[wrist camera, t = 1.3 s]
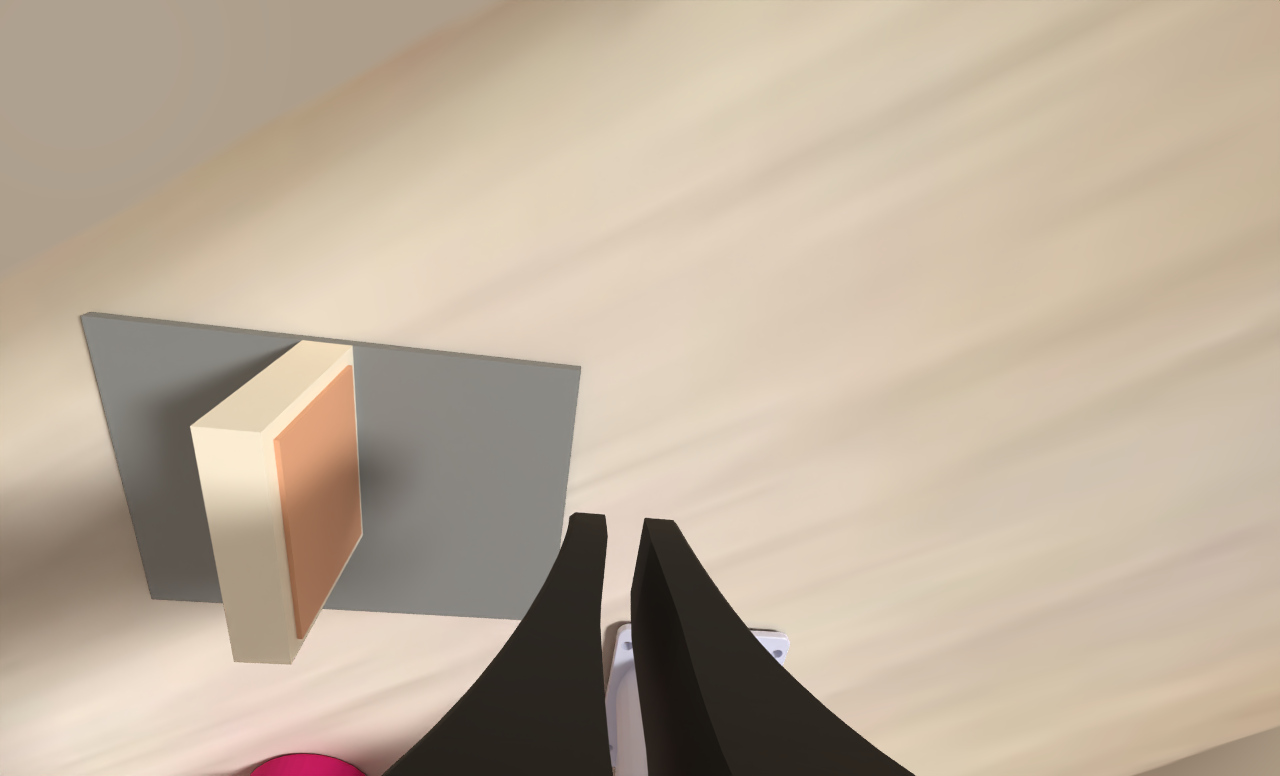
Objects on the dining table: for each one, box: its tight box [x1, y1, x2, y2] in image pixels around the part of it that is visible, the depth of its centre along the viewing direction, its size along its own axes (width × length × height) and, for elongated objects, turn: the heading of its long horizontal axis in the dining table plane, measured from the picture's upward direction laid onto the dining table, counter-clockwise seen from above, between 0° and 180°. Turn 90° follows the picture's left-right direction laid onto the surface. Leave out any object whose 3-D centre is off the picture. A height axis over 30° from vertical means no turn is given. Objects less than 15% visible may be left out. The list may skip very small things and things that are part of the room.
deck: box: [190, 340, 363, 664], centre depth 19 cm, size 8×2×6 cm, turn 171°
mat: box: [81, 312, 581, 620], centre depth 22 cm, size 12×16×1 cm
